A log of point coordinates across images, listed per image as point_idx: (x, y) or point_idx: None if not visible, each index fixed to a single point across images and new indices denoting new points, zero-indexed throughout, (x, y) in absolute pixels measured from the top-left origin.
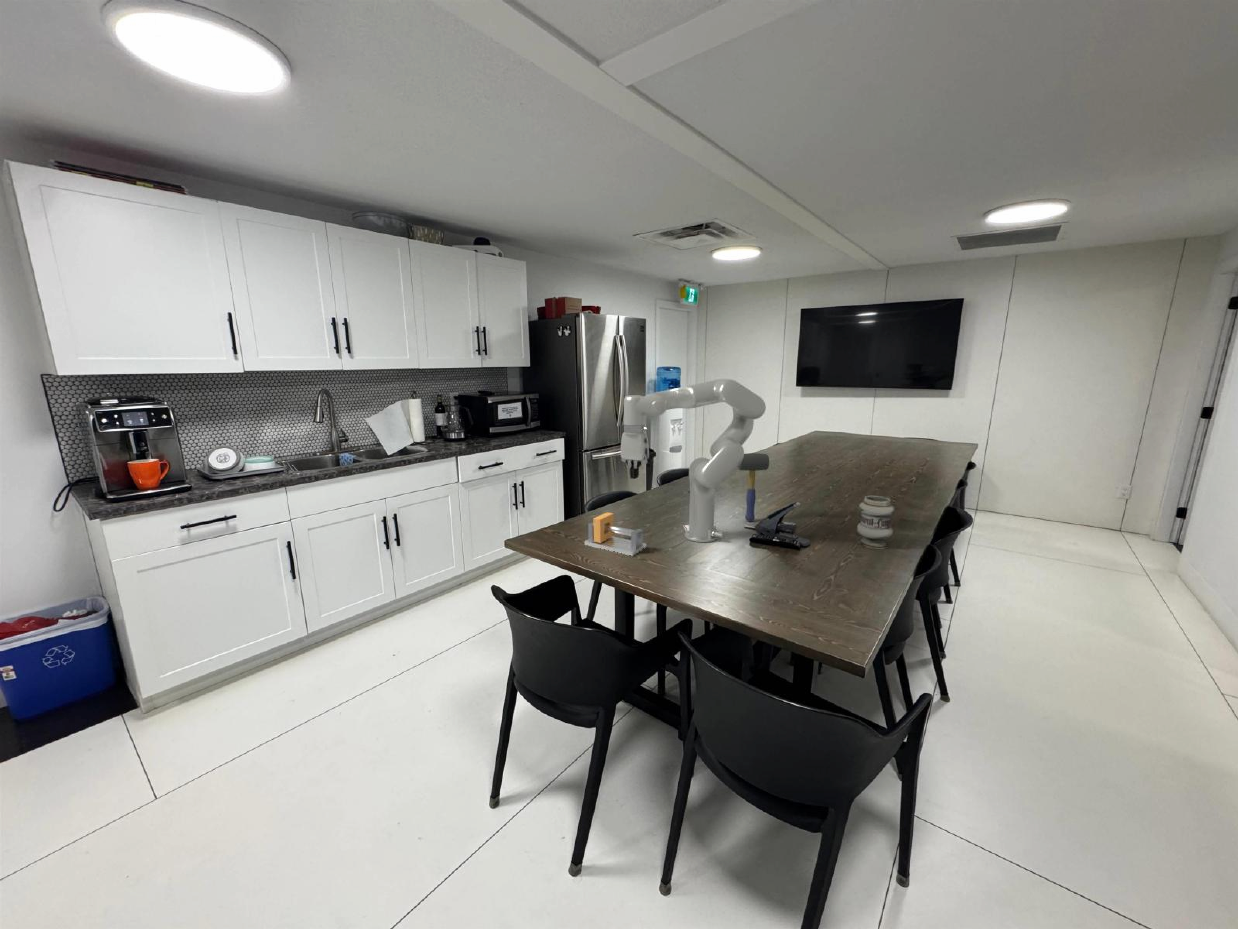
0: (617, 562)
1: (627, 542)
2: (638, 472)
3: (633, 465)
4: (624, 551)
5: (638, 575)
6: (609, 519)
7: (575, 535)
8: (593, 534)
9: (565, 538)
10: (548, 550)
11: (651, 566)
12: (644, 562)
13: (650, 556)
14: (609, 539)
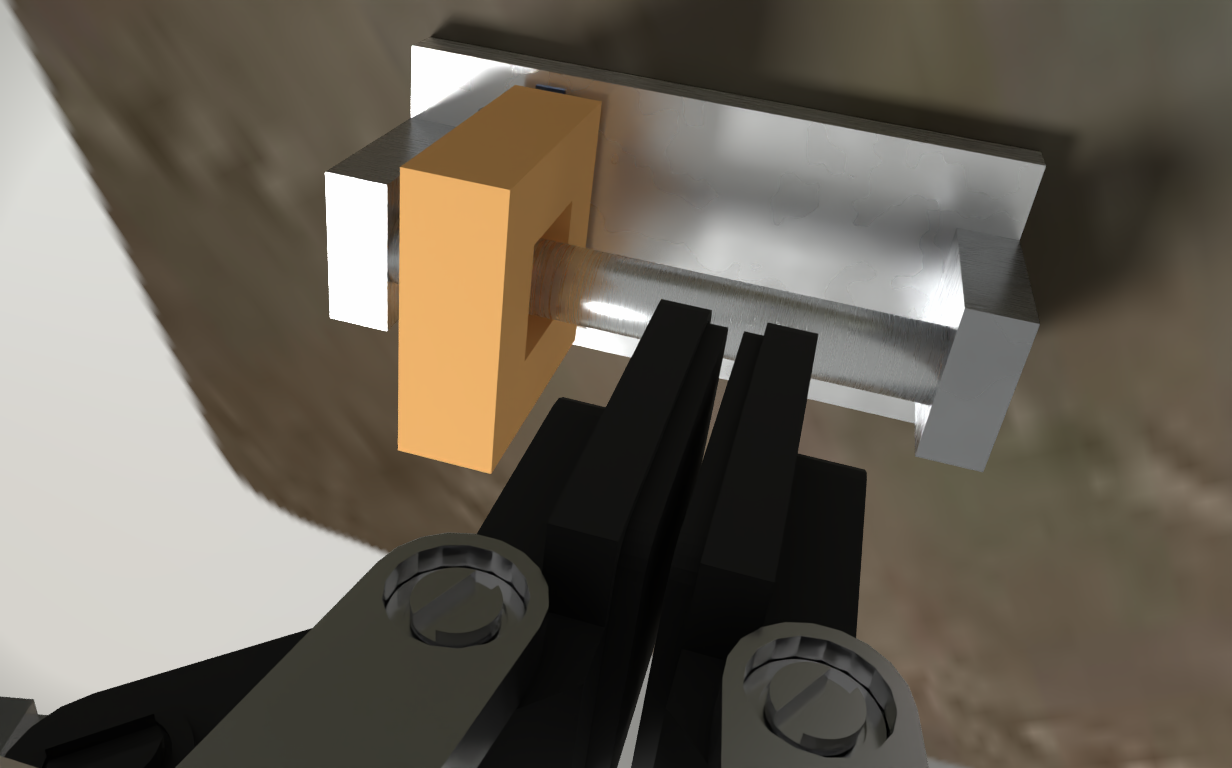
0: None
1: (818, 205)
2: (856, 545)
3: (540, 747)
4: (862, 406)
5: (1100, 713)
6: (522, 264)
7: (199, 84)
8: None
9: (183, 196)
10: (263, 469)
11: (1186, 563)
12: (1102, 504)
13: (1139, 368)
14: (598, 186)
